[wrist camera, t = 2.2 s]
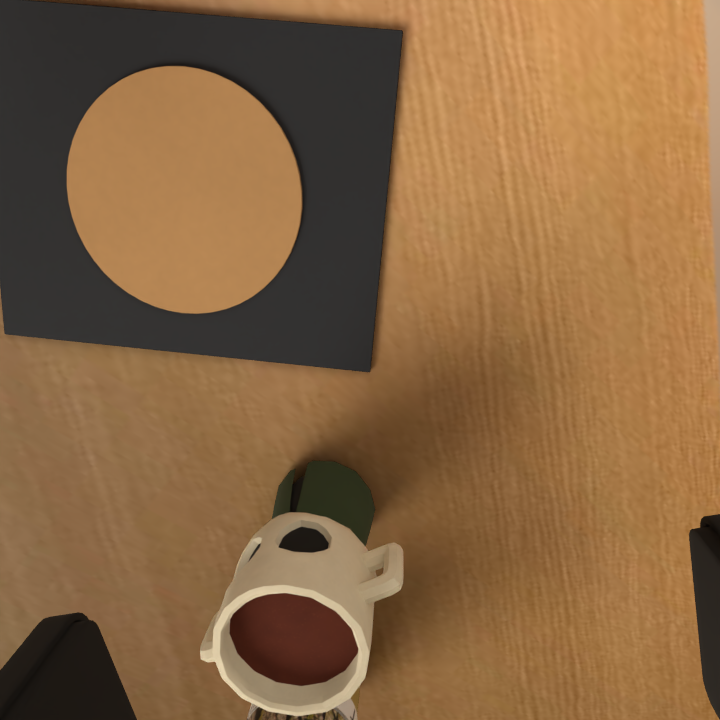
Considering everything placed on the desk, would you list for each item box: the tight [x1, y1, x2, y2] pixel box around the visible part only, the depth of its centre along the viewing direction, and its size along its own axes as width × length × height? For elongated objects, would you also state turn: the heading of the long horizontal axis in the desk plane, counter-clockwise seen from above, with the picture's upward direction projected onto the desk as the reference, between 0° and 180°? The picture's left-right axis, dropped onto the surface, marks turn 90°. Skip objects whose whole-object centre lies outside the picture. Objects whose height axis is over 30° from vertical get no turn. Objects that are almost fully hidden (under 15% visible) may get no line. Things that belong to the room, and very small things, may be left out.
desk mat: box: [0, 0, 403, 372], centre depth 34 cm, size 22×18×1 cm
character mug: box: [200, 461, 403, 716], centre depth 33 cm, size 11×7×13 cm, turn 117°
